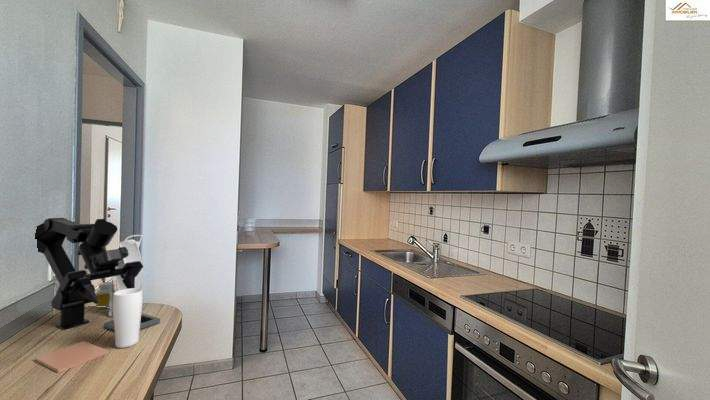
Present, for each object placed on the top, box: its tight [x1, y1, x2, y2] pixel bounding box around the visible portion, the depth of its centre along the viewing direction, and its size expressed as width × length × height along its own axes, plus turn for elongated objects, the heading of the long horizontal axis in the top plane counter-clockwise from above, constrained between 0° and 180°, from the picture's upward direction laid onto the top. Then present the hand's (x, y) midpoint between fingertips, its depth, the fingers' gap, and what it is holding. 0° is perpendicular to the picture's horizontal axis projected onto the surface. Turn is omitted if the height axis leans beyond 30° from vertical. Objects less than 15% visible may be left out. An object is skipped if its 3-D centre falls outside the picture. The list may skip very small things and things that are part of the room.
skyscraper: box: [106, 234, 144, 319], centre depth 105 cm, size 8×8×28 cm
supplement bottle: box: [95, 281, 116, 312], centre depth 109 cm, size 5×5×10 cm
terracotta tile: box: [34, 340, 109, 374], centre depth 77 cm, size 12×10×1 cm
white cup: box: [112, 287, 144, 349], centre depth 84 cm, size 7×7×15 cm
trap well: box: [103, 313, 161, 333], centre depth 96 cm, size 12×10×2 cm
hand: (116, 297), depth 86 cm, fingers open, 9 cm apart
